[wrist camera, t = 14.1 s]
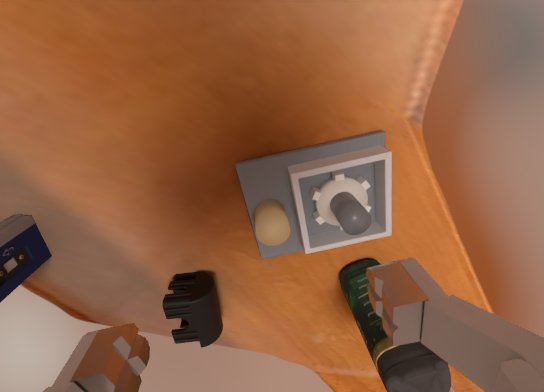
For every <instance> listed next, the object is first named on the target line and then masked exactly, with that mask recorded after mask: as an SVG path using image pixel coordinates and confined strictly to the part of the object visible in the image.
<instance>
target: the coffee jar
mask: <svg viewBox="0 0 544 392" xmlns="http://www.w3.org/2000/svg"><path fill="white" fill-rule="evenodd" d="M378 265H381V264H380V263H379V262H377V261H376V260H371V259H368V260H362V261H358V262H355V263H353V264H351V265H349V266H348V267H346V268H345V269H344V270H343V271H342V272H341V275H340V282H341V286H342V289H343V291H344V294H345V296H346V299H347V301H348V304H349V306H350V308H351V310H352V313H353V315H354V318H355V320H356V323H357V325H358V328H359V330H360V332H361V335H362V337H363V339H364V342H365V344H366V346H367V349H368V351H369V353H370V355H371V358H372V360H373V362H374V364H375V366H376V369H377V371H378V373H379V375H380V377H381V379H382V382H383V384H384V386H385V388H386V390H387V392H449V391H450V388H451V376H450V371H449V367H448V363H447V362H446V361H444V360H443V359H442V358H440V357H439V356H438V355H437V354H435V353H434V352H433V351H431V350H430V349H429V348H427V347H426V346H425V345H423V344H422V343H421V341H419V342H414V343H409V344H404V345H399V346H393V345H392V343H391V341H390V339H389V338H388V336H387V334H386V332H385V330H384V328H383V322H382V318H381V317H380V316H378V315H377V314H376V313H375V311H374V309H373V307H372V304H371V302H370V299H369V295H368V289H367V285H368V284H369V283H370V282H369V280H368V278H367V275H366V270H367V268H369V267H374V266H378Z"/></svg>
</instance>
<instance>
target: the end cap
mask: <svg viewBox="0 0 544 392" xmlns="http://www.w3.org/2000/svg"><path fill="white" fill-rule="evenodd" d="M168 290H173V292H174V294H167V295H165V297H164V300H163V309H164V312H165V315H166V318H167V319H173V318H182V321H181V325H180V328H183V329H175V330H172V332H171V333H172V335H173V338H174V341H175V343H185V342H194V341H200V344H201V347H206V346H208V345H210V344H212V343H213V342H215V341H216V340H217V339H218V338H219V336H220V335H221V332H222V329H223V323H222V318H221V313H220V309H219V304H218V299H217V294H216V290H215V285H214V280H213V278H212V277H211V276H210V275H208V274H205V273H202V272H192V273H182V274H176V275H174V277H173V281H171V282H170V284H169V287H168ZM185 327H186V328H185Z"/></svg>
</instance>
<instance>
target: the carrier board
mask: <svg viewBox="0 0 544 392" xmlns="http://www.w3.org/2000/svg"><path fill="white" fill-rule="evenodd" d="M235 167H236V170H237V174H238V177H239V181H240V184H241V188H242V191H243V195H244V198H245V202H246V205H247V209H248V212H249V216H250V219H251V223H252V226H253V230H254V233H255V237H256V240H257V244H258V247H259V251H260V254H261V258H262V260H263V259H268V258H272V257H277V256H281V255H286V254H290V253H295V252H299V251H304V250H305V253H306V254H309V253H313V252H318V251H322V250H327V249H331V248H336V247H341V246H345V245H350V244H354V243H359V242H363V241H368V240H372V239H377V238H381V237H386V236H390V235H391V151H389V150H388V149H386V148H385V132H384V131H382V130H378V131H374V132H370V133H365V134H361V135H356V136H352V137H348V138H343V139H339V140H334V141H330V142H326V143H321V144H317V145H312V146H308V147H303V148H299V149H295V150H290V151H286V152H281V153H277V154H273V155H268V156H264V157H259V158H255V159H251V160H246V161H242V162H237V163H236V164H235ZM339 169H340V170H341V171H342V172H343V173H344V175H348V176H351V177H353V178H355V179H357V178H358V177H359V176H362V177H363V178H364V179H365V180H366V181H367V182H368V183H369V185H370V187H369V188H368V189H367V190H366V192H367V196H368V202H367V203H368V204H369V205H370V206H371V209H370V211H369V214H370V215H371V219H372V220H371V225H370V227H369V228H368V229H367V230H366V231H365V232H363V233H362V234H359V235H349V234H347V233H345V232H344V230H341V229H340V228H339V226H338V225H331V224H329V223H327V222H324V223H322V224H321V225H320V224H319V223H318V222H317V221H316V220H315V218H314V216H313V214H312V213H314V212H315V211H316V210H317V209H316V207H315V204H314V200H312V198H311V196H310V194H309V193H310V191H311V189H312V186H313V187H317V188H318V187H319V185H320V184H321V183H322V182H323V181H325V180H326V179H328V178H329V177H332V175H331V171H335V170H339Z"/></svg>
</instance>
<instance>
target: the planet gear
mask: <svg viewBox="0 0 544 392" xmlns="http://www.w3.org/2000/svg"><path fill="white" fill-rule="evenodd" d="M331 175H332V177H329V178H328V179H326V180H325V181H323V182H322V183H321V184H320V185H319V187H318V188H317V187H313V186H312V189H311V191H310V193H309V194H310V196H311V198H312V200H314V204H315V207H316V209H317V210H316V211H315V212H314V213H312V214H313V216H314V218H315V220H316V221H317V222H318V223H319V224H320V225H321V224H322V223H324V222H327V223H329V224H331V225H338V226H339V228H340V229H341V230H344V232H345V233H347V234H349V235H359V234H362V233H363V232H365V231H366V230H367V229H368V228H369V227H370V225H371V220H372V219H371V215H370V214H369V211H370V209H371V206H370V205H369V204H368V203H367V202H368V196H367V192H366V190H367V189H368V188H369V187H370V185H369V183H368V182H367V181H366V180H365V179H364V178H363V177H362V176H359V177H358V178H357V179H355V178H353V177H351V176H348V175H344V173H343V172H342V171H341V170H340V169H339V170H335V171H331Z"/></svg>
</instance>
